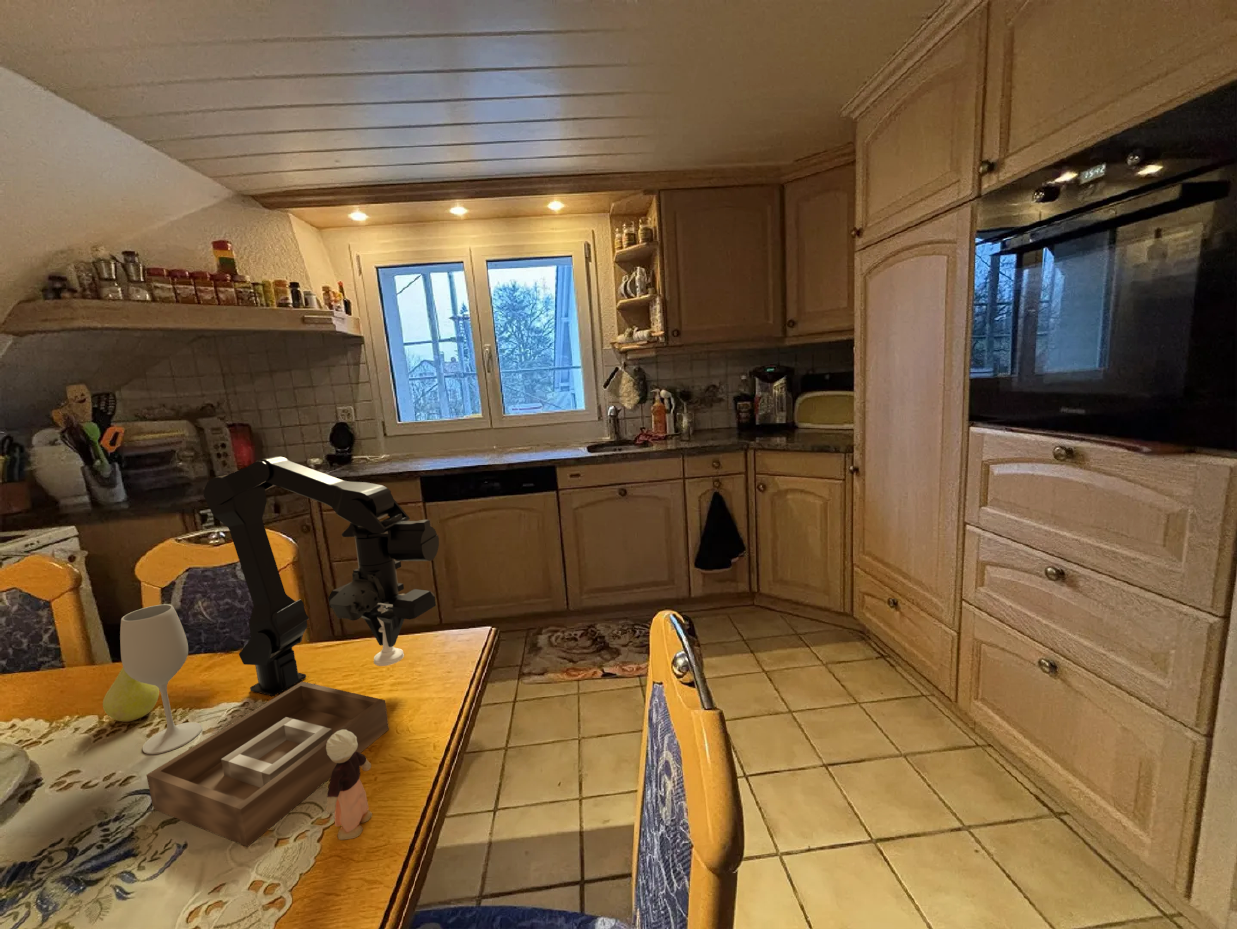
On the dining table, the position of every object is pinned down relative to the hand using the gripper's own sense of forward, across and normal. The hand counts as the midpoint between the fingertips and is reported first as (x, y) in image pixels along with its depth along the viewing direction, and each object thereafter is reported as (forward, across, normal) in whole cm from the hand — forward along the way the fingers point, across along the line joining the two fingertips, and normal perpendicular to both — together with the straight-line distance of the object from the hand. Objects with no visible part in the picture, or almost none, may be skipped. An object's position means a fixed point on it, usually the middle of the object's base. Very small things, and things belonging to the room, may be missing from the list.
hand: (387, 645), depth 92 cm
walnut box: (+8, -1, -20) cm, 22 cm away
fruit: (+9, -37, -19) cm, 43 cm away
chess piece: (+3, 0, 0) cm, 3 cm away
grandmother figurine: (+8, +18, -25) cm, 32 cm away
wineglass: (+9, -24, -21) cm, 33 cm away
